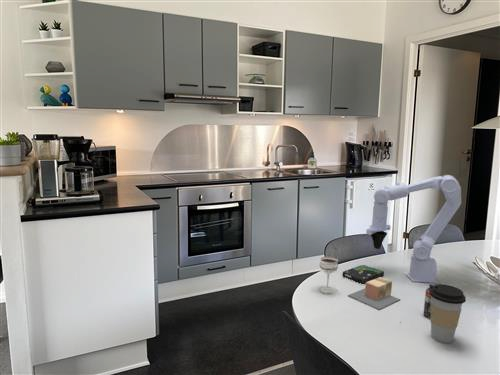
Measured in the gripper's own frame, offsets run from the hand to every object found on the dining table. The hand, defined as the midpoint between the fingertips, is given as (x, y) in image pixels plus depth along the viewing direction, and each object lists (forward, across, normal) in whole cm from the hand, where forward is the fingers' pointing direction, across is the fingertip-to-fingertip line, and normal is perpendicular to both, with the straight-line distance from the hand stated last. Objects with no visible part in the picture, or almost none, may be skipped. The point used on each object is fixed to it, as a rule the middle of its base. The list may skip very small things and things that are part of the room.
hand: (377, 248), depth 160 cm
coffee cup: (+11, +29, +42) cm, 52 cm away
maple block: (+8, +16, +15) cm, 23 cm away
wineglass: (+11, +32, +1) cm, 34 cm away
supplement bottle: (+11, +18, +34) cm, 40 cm away
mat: (+10, +23, +15) cm, 29 cm away
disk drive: (+11, +9, 0) cm, 14 cm away
